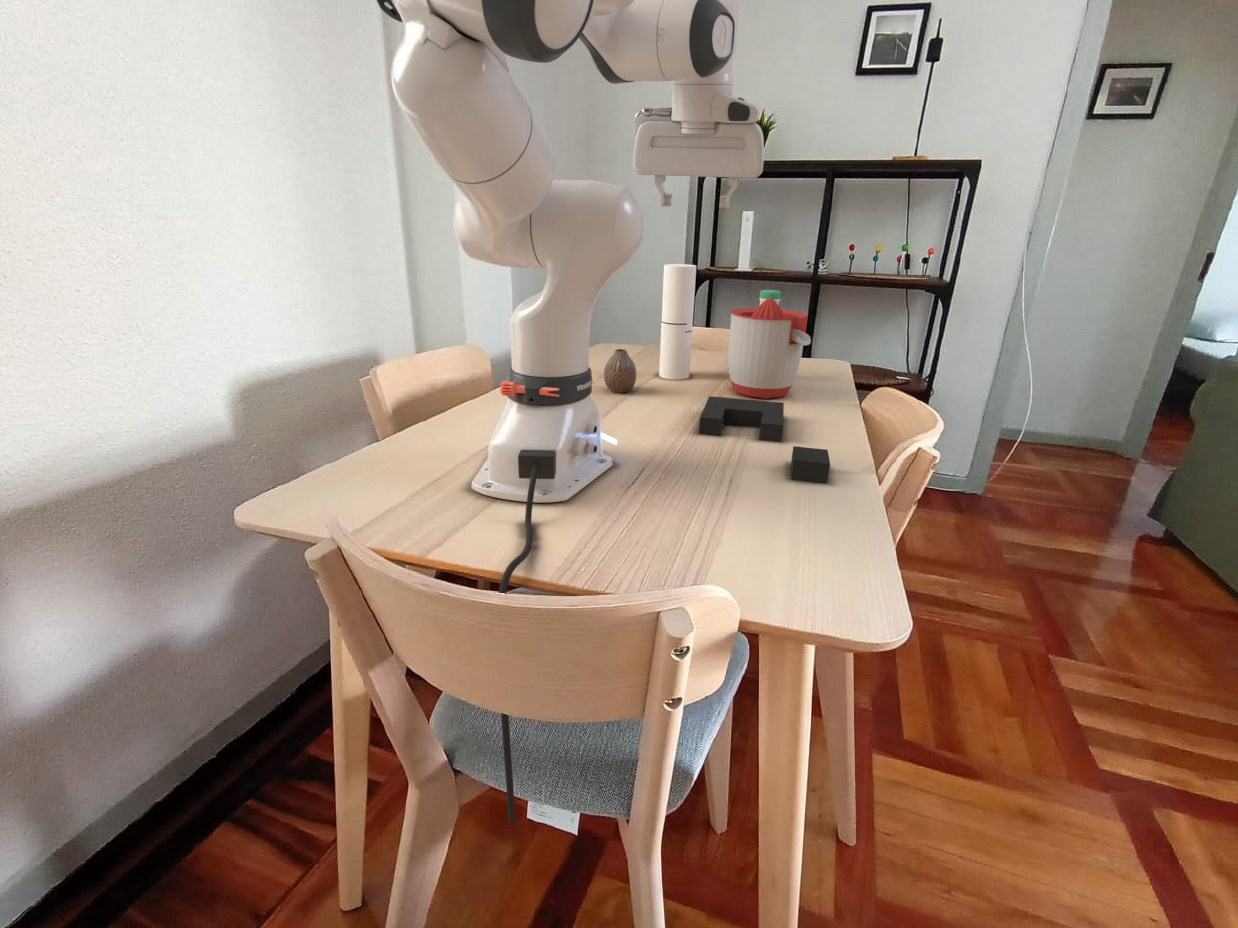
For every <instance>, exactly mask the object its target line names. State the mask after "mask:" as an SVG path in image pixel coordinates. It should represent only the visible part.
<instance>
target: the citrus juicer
mask: <svg viewBox="0 0 1238 928" xmlns="http://www.w3.org/2000/svg"><path fill="white" fill-rule="evenodd" d="M759 305H760V304H759ZM759 305H758V307H740V308H739V307H738V308H734V309H731V310H730V312H729V313H730V314H731V315H730V326H729V338H728V349H727V368H728V373H729V382H730V384H731V387H732V390H733V391H734V392H735V393H737V394H740V395H744V396H747V397H754V398H759V399H762V400H769V399H770V398H771V399H772V398H779V397H780V398H781V397H784V396H786V395H787V394H788V393H789V392H790V390H791V388H792V387H793V383H794V381H795V379H796V377H797V374H798V371H799V367H800V363H801V358H802V350H803V346H809V345H811V343H812V339H811V336H810V335H809V334H808V333H807V332H806V331H807V324H808V314H807V313H806V312H802V311H798V310H792V309H787V308H785V309H784V308H781V307H780V306H778V304H777V303H776V302H775V301H774V299H773V298H768V299H766V300H765V301H764V302H763V303H762V304H761V305H760V306H759Z"/></svg>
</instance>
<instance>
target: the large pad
mask: <svg viewBox="0 0 1238 928" xmlns="http://www.w3.org/2000/svg"><path fill="white" fill-rule="evenodd" d="M706 400H707V401H706V403H705V405H704V407H703V409H702V411H701V413H700V416H699V422H698V423H699V424H698V434H699V435H709V436H719V437H720V436H721V434H722V431H723V428H724V425H730V426H731V425H732V426H742V427H751V428H759V436H758V440H760V441H768V442H769V441H770V442H779V443H780V442H782V438H783V431H784V416H785V415H784V411H785V408H784V406H785V405H784V402H781V401H769V400H759V399H747V398H734V397H724V396H711V395H709V396H708V398H707V399H706Z"/></svg>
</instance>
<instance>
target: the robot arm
mask: <svg viewBox="0 0 1238 928" xmlns="http://www.w3.org/2000/svg"><path fill="white" fill-rule="evenodd" d="M375 1H376V3H377V5H378V6H379V8H380V9H381V11H383V12H384V13H385V15H387V16H388V17H390V18H391V19H393V20H395V21H397V22H399V23H402V24H403V36H402V38H401V40H400V42H399V43H398V45H397V47H396V49H395V52H394V54H393V57H392V61H391V67H390V81H391V87H392V91H393V95H394V98H395V100H396V102H397V105H398V106H399V108H400V110H401V112H402V114H403V116H404V117H405V119H406V122H407V123H408V125H409V126H410V128H411V129H412V132H413V133H414V135H415V136H416V138H417V139H418V140H419V142H420V144H421V145H422V146H423V148H424V149H425V151H426V152H427V153H428V154H429V156H430V157H431V159H432V160H433V161H434V162H435V163H436V164H437V166H438V167H439V168H440V169H441V170H442V171H443V172H444V174H445V175H446V176H447V177H448V178H449V179H450V181H451V182H452V183H453V184H454V185H455V187H456V188H457V189H458V190H459V192H460V194H459V195H458V197H457V199H456V201H455V204H454V209H453V215H452V222H453V224H452V225H453V230H454V234H455V237H456V239H457V242H458V244H459V245H460V247H461V249H462V250H463V251H464V253H465V254H466V255H467V256H468V257H469V258H471V259H473V260H477V261H480V262H484V263H487V264H491V265H495V266H498V267H499V266H500V267H503V268H504V267H505V268H524V269H526V268H527V269H546V279H545V284H544V286H543V288H542V291H540V292H538V293H536V294H534V295H532V296H530V297H528V298H527V299H525V300H523V301H522V302H520V303H519V304H518V305H517V306H516V307H515V309H513V312H512V314H511V316H510V319H509V335H510V354H511V355H510V356H511V367H510V369H509V370H508V377H507V380H502V381H501V382H500V386H499V391H500V395H501V396H505V397H507V401H506V402H505V406H504V408H503V410H502V412H501V413H500V416H499V418H498V421H497V423H496V425H495V428H494V430H493V432H492V434H491V436H490V439H489V442H488V447H487V459H486V460H485V461H484V463H483V465H482V466H481V467H480V469H479V471H478V472H477V473H476V475H475V476H474V477H473V479H472V481H471V489H472V490H473V491H475V492H476V493H478V494H481V495H484V496H486V497H492V498H496V499H502V500H507V501H514V502H515V501H516V502H523V503H526V504H525V505H526V506H525V516H524V528H525V544H524V548H523V549H522V551H521V553H520V554H518V556H516V557H514V559H513V560H512V561H511V562H509V564H508V565H507V567H506V568H505V570H504V572H503V575H502V577H501V579H500V584H499V587H498V593H505V595H506V594H507V592H508V586H509V583H510V579H511V577H512V575H513V573H514V571H515V570H516V568H517V567H518V566H519V565H520V564H521V563H523V562H524V561H525V560H526V559H527V558H528V556H529V555H530V553H531V551H532V546H533V542H534V541H533V540H534V538H533V537H534V536H533V535H534V533H533V526H532V517H533V504H534V503H541V504H542V503H559V502H564V501H568V500H569V499H571V498H572V497H573V496H575V495H576V494H577V493H579V492H580V491H581V490H582V489H583V488H585V487H586V486H588V485H589V484H591V483H592V482H593V481H594V480H596V479H597V478H599V476H602V474H603V473H605V472H606V471H608V470H609V469H610V468H611V467H612V466H613V458H612V457H611V456H609V455H608V454H606V453H604V447H603V446H604V443H603V440H605V441H607V442H608V443H611V444H613V445H617V444H618V440H617V439H616V438H614V437H612V436H609V435H607V434H605V433H603V425H602V424H603V423H602V411H601V409H599V407H598V406H597V404H595V402H594V400H593V399H592V396H591V394H592V392H593V376H592V375H593V374H592V368H591V367H590V365H589V359H590V357H589V356H590V355H589V354H590V336H591V335H590V333H591V324H592V323H591V322H592V316H593V310H594V308H595V306H596V303H597V300H598V298H599V296H600V294H601V292H602V290H603V288H604V287H605V285H606V284H607V283H608V281H610V279H611V278H612V277H613V276H614V275H615V274H616V273H617V272H618V271H619V270H620V269H622V268H623V267H625V266H626V265H627V264H628V263H629V262H630V261H631V260H632V259H633V258H634V256H635V255H636V254H637V252H638V250H639V248H640V245H641V243H642V239H643V235H644V234H643V233H644V218H643V212H642V209H641V207H640V204H639V201H638V200H637V198H636V196H635V195H634V194H633V193H632V192H631V190H630V189H629V188H627V187H625V186H621V185H619V184H614V183H610V182H605V181H600V180H596V179H554V177H555V169H556V167H555V165H556V164H555V162H556V161H555V155H554V151H553V147H552V145H551V142H550V141H549V139H548V137H547V136H546V134H545V132H544V130H543V129H542V126H541V125H540V123H539V120H538V119H537V117H536V115H535V114H534V112H533V110H532V109H531V107H530V105H529V103H528V101H527V99H526V98H525V96H524V94H523V93H522V91H521V89H520V88H519V85H517V82H516V81H515V80H514V78H513V77H512V76H511V74H510V68H509V66H508V62H507V57H506V55H507V56H509V57H510V58H515V59H518V60H520V61H521V60H522V61H526V62H531V63H538V64H546V63H547V64H548V63H552V62H554V61H556V60H558V59H559V58H561V56H563V55H564V54H565V53H566V52H567V51H568V50H570V48H571V47H572V46H573V45H575V43H576V42H577V41H578V40H580V41H581V42H582V43H583V46H585V47H586V49H587V51H588V52H589V54H590V57H591V60H592V62H593V64H594V66H595V68H596V70H597V71H598V72H599V74H600V75H601V76H602V77H603V78H604V79H605V80H606V81H607V82H608V83H610V84H612V85H617V84H618V85H619V84H626V83H627V84H628V83H634V82H672V88H671V89H672V90H671V107H657V108H652V107H643V108H642V110H640V111H638V112H636V114H635V115H634V117H633V121H632V134H633V137H634V139H635V140H634V141H635V142H634V148H633V155H632V156H633V157H632V169H633V170H634V172H635V173H636V174H637V175H639V176H654V185H655V187H656V189H657V191H658V193H659V195H660V207H668V208H669V207H671V206H672V198H673V197H672V195H673V194H672V193H668V192H667V190H666V188H665V186H664V183H665V182H666V179H667V177H669V176H670V177H698V178H700V177H702V178H728V186H730V188H729V190H728V191H727V193H726V195H720V197H719V205H718V208H719V209H720V210H729V209H730V205H731V198H732V196H733V194H734V192H735V191H736V189H737V188H738V186H739V184H740V183H739V182H740V179H757V178H758V177H760V176H761V175H762V174H763V172H764V164H765V163H764V161H765V143H764V141H765V139H764V133H763V130H762V127H761V126H760V125H759V124H758V123H757V122H758V121H760V118H761V113H762V112H761V110H762V109H761V107H760V106H759V105H757V104H755V103H752V102H750V101H747V100H745V99H744V98H743V97H736V96H734V95H733V88H734V87H733V86H734V79H733V73H732V72H733V71H732V69H733V67H732V66H733V59H734V56H735V55H736V54H735V53H736V50H737V39H738V23H739V22H738V20H739V19H738V17H739V13H738V12H739V6H738V3H739V2H738V0H375ZM385 3H387V4H388V6H387V5H386V4H385ZM389 6H390V7H389ZM500 715H501V716H500V718H501V731H502V732H501V733H502V746H503V747H502V749H503V760H504V772H505V787H506V801H507V815H508V816H507V818H508V823H514V822H515V821H516V808H515V807H516V806H515V792H514V791H515V790H514V775H513V761H512V748H511V747H512V746H511V731H510V716H509V715H510V714H509V715H506V714H503V713H501V712H500Z"/></svg>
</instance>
